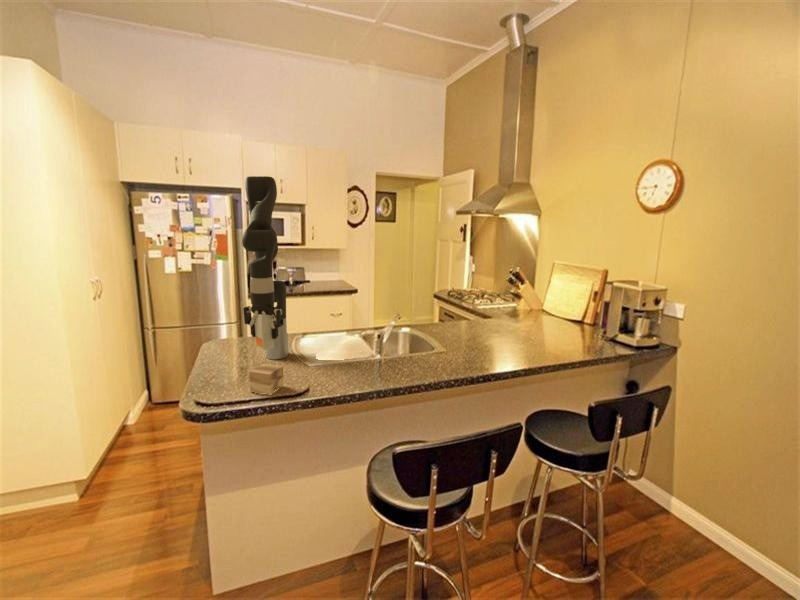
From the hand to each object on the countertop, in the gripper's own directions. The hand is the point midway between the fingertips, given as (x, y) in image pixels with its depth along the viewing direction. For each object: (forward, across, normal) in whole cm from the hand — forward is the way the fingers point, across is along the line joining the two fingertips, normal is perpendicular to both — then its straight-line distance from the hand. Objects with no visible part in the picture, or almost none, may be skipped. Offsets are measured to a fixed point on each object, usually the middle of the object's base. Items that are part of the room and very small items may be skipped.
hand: (264, 337), depth 137 cm
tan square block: (+15, 0, 0) cm, 15 cm away
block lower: (+19, 0, 0) cm, 19 cm away
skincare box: (+4, 0, 0) cm, 4 cm away
